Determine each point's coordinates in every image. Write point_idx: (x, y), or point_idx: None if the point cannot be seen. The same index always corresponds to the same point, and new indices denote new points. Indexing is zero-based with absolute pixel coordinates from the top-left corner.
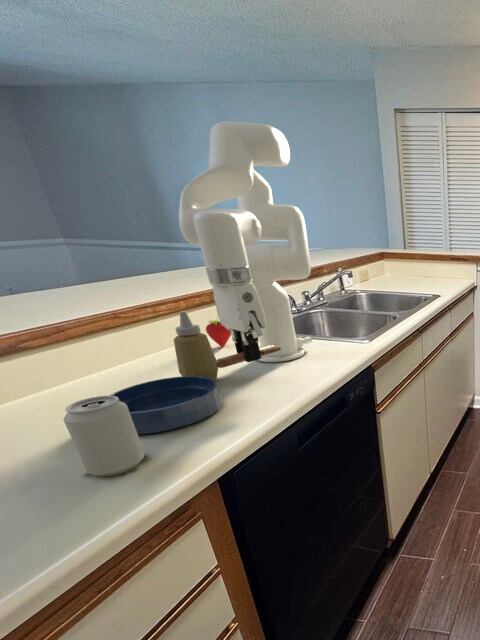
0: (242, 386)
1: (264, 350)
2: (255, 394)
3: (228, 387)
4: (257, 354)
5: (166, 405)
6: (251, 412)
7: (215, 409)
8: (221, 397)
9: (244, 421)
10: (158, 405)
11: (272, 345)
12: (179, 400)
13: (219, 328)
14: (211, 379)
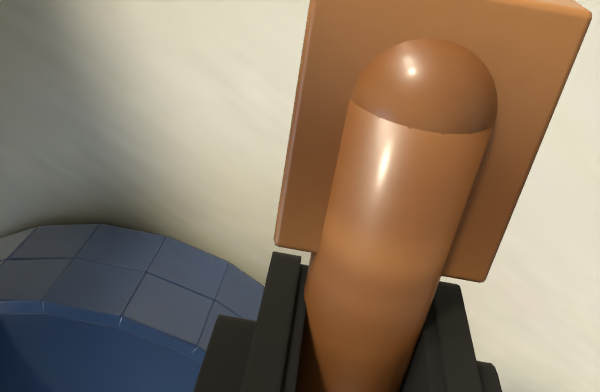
0: (69, 24)
1: (453, 250)
2: (290, 100)
3: (9, 75)
4: (494, 386)
5: (45, 363)
6: (491, 290)
7: None
8: (227, 278)
9: (537, 364)
10: (14, 369)
11: (466, 98)
12: (27, 314)
13: None
14: (101, 320)
